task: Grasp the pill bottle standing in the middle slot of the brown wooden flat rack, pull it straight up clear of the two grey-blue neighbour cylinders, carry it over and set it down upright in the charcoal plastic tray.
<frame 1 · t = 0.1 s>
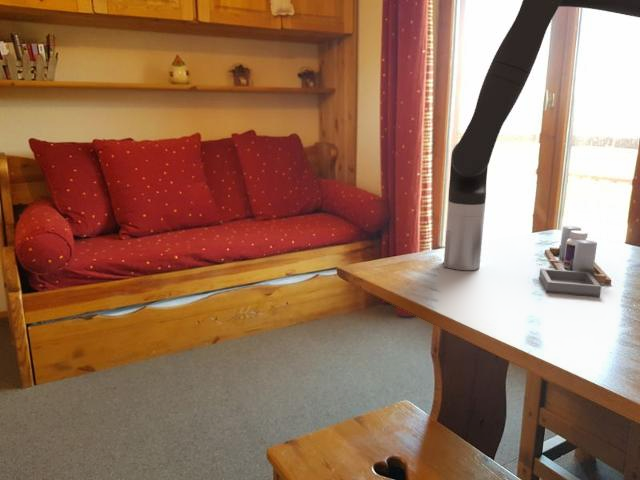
pill bottle: (574, 268, 136), resting in brown wooden flat rack
tray: (567, 287, 120), on the table
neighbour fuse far: (567, 259, 144), resting in brown wooden flat rack
brown wooden flat rack: (574, 267, 136), on the table
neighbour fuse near: (581, 277, 128), resting in brown wooden flat rack
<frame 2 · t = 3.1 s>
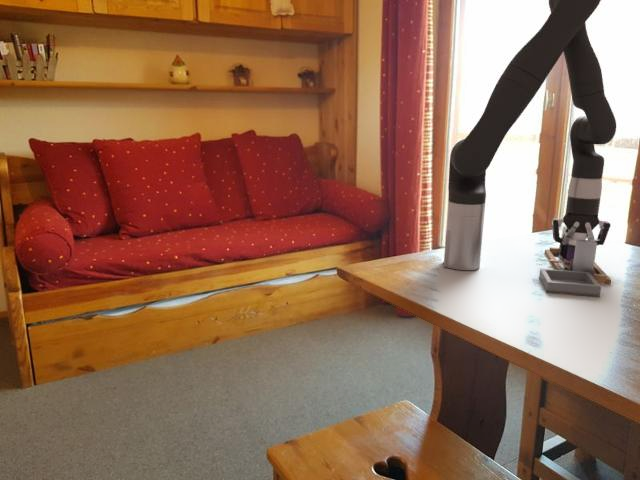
hand: (575, 258, 136), 3 cm above the table, fingers closed on pill bottle, 5 cm apart
pill bottle: (574, 268, 136), resting in brown wooden flat rack, touching gripper
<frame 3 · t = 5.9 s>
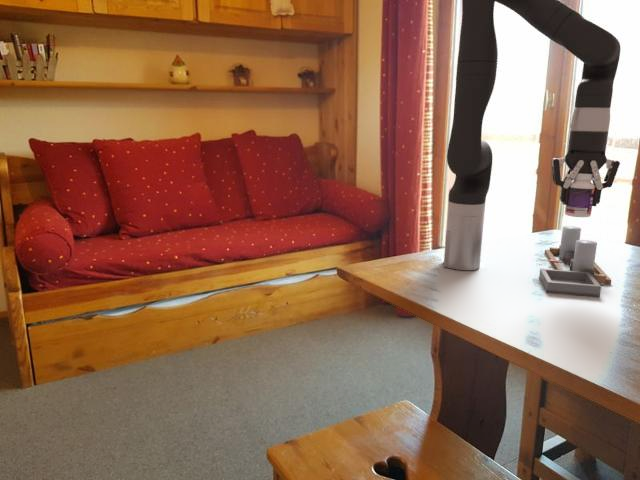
hand: (579, 204, 117), 19 cm above the table, fingers closed on pill bottle, 5 cm apart
pill bottle: (577, 216, 118), point 17 cm above the table, touching gripper
when the fingers open (4 cm above the table, at t = 9.0 s): pill bottle drops 1 cm, resting on tray.
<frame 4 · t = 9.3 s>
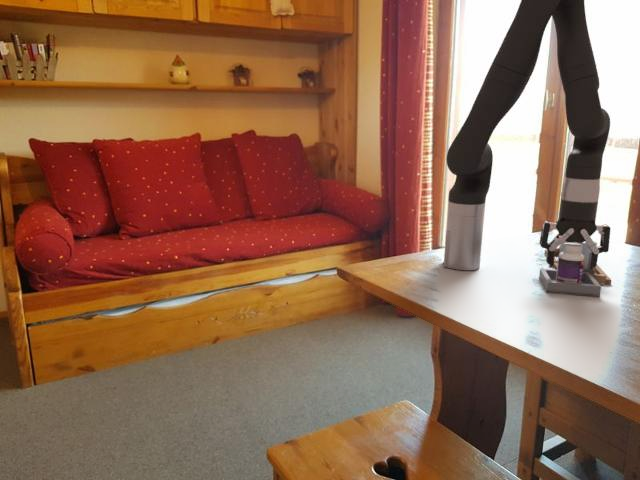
hand: (570, 267, 119), 5 cm above the table, fingers open, 8 cm apart
pill bottle: (567, 285, 120), resting on tray
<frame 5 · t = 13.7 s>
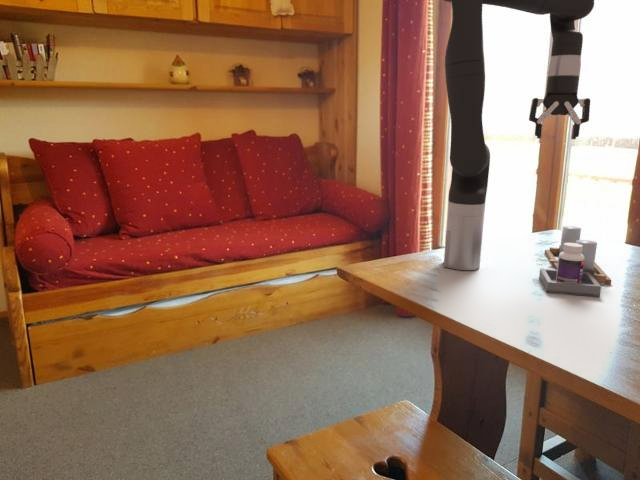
hand: (556, 138, 137), 33 cm above the table, fingers open, 8 cm apart
nothing on the table moved.
at the end: pill bottle inside the target area on the tray (0.1 cm from its centre), point 0.4 cm above the tray's base; pill bottle tilted 0°; the gripper is holding nothing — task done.
